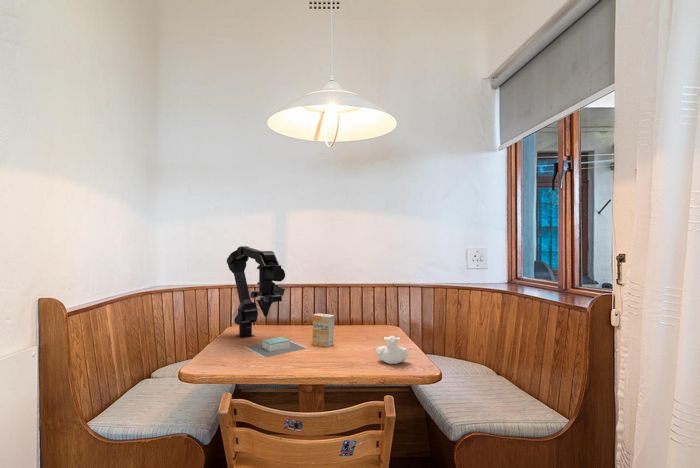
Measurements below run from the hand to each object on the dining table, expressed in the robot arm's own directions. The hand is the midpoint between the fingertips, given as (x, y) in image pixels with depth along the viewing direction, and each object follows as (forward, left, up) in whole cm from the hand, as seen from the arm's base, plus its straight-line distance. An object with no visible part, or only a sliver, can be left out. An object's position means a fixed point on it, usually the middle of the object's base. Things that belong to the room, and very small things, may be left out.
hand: (265, 316), depth 162 cm
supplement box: (+18, +18, -12) cm, 28 cm away
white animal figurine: (+52, +25, -12) cm, 59 cm away
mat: (+10, 0, -12) cm, 15 cm away
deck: (+6, 0, -10) cm, 12 cm away
